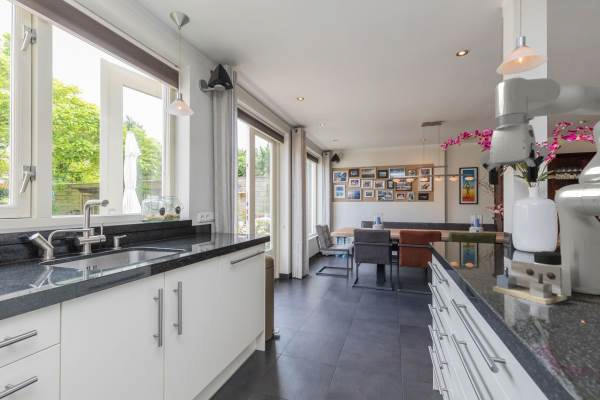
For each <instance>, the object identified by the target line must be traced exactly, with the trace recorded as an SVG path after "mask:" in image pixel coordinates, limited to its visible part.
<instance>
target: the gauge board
mask: <svg viewBox="0 0 600 400" xmlns="http://www.w3.org/2000/svg"><path fill="white" fill-rule="evenodd" d="M510 273H511V274H510V275H512V276H516V284H517V287H516V288H511V289H506V288H502V287H498V286H497V285H495V286H492V292H494V293H495V292H496V293H500V294H503V295H508V296H510V297H513V298H514V297H515V298H518V299H522V300H525V299H526V300H527V301H528V302H533V303H537V304H540V305H544V306H546V305H551V304H555V303H559V302H563V301H566V300H568V296H567V295H565V294H562V268H559V267H552V266H546V265H540V264H534V262H533V263H532V262H526V261H519V260H512V259H511V260H510Z"/></svg>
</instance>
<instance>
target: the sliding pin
mask: <svg viewBox="0 0 600 400" xmlns="http://www.w3.org/2000/svg"><path fill="white" fill-rule="evenodd" d="M496 286H498V287H502V288H506V289H511V288H516V287H517V284H516V276H512V275H511V274H509V267H508V266H504V274H498V275H496Z"/></svg>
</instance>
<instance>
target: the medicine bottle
mask: <svg viewBox="0 0 600 400" xmlns="http://www.w3.org/2000/svg"><path fill="white" fill-rule="evenodd" d="M533 260H534V261H533V264H540V265H546V266H552V267H559V268H561V267H562V260H561V253H559V252H555V251H548V250H546V251H545V250H539V251H538V250H537V251H535V252H534V253H533ZM562 294H565V295H567V297H572V291H571V273H570V272H569V271H566V270H563V269H562Z"/></svg>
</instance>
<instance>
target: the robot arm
mask: <svg viewBox="0 0 600 400" xmlns="http://www.w3.org/2000/svg"><path fill="white" fill-rule="evenodd" d="M494 89H495V90H494V99H495V100H494V101H495V102H494V103H495V104H494V106H495V111H494V112H495V115H494V116H495V119H494V120H495V121H494V123H495V130H493V132H492V134H491V142H490V149H489V152H488V153H487V154H485V155H484V156H482V157H480V158H479V162H480V163H481V165H482V167H483V168H484V169H485V170H486V172H488V182H489V186H497V185H499V171H497V170H498V169H499V168H500V166H508V165H517V164H523V163H526V164H527V165H529V166H527V168H526V180H527V182H528V183H537V179H538V178H539V168H540V167H541V165H542V164H543V163H544V162H545V161H546V160H547V157H548V156H549V154H550V152H551V149H550V148H548V147H543V146H540V145H537V141H536V136H535V131H534V127H533V125H532V124H530V121H532V120H534V119H535V118H537V117H546V116H557V115H564V114H570V115H571V114H572V115H583V116H587V115H588V116H600V85H598V84H597V85H593V84H582V83H572V84H566V85H563V86H560V83H558V82H557V81H556V80H555V79H552V78H548V77H547V78H546V77H544V78H543V77H541V78H529V79H528V78H527V79H526V78H523V77H511V78H508V79H504V80H502V81H500V82H499V83H498V84H496V86H495V88H494ZM592 135H593V140H594V142H595V146H596V151H597V152H596V154H595V155H594V156H593V157H592V158H591V160H590V161H589V162H588V163H587V164H586V166H585V167H584V168H583V169H582V170H581V172H580V174H579V176H578V183H574V184H569V185H565V186H563V187H561V188H559V189H558V190H557V191H556V193H555V195H554V205H555V208H556V211H557V215H558V220H559V236H560V237H559V239H560V240H559V241H560V242H559V243H560V245H559V246H560V255H561V260H562V267H561V268H562V269H563V270H566V271H569V272H570V273H571V292H575V293H579V294H580V293H581V294H586V295H595V296H596V295H598V296H600V221H599V219H597V217H599V216H600V120H599V121H597V122H596V123H595V125H594V126H593V129H592ZM538 152H540V153H539V156H538ZM488 160H489V161H490V163H489V161H488ZM596 216H597V217H596Z"/></svg>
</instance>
